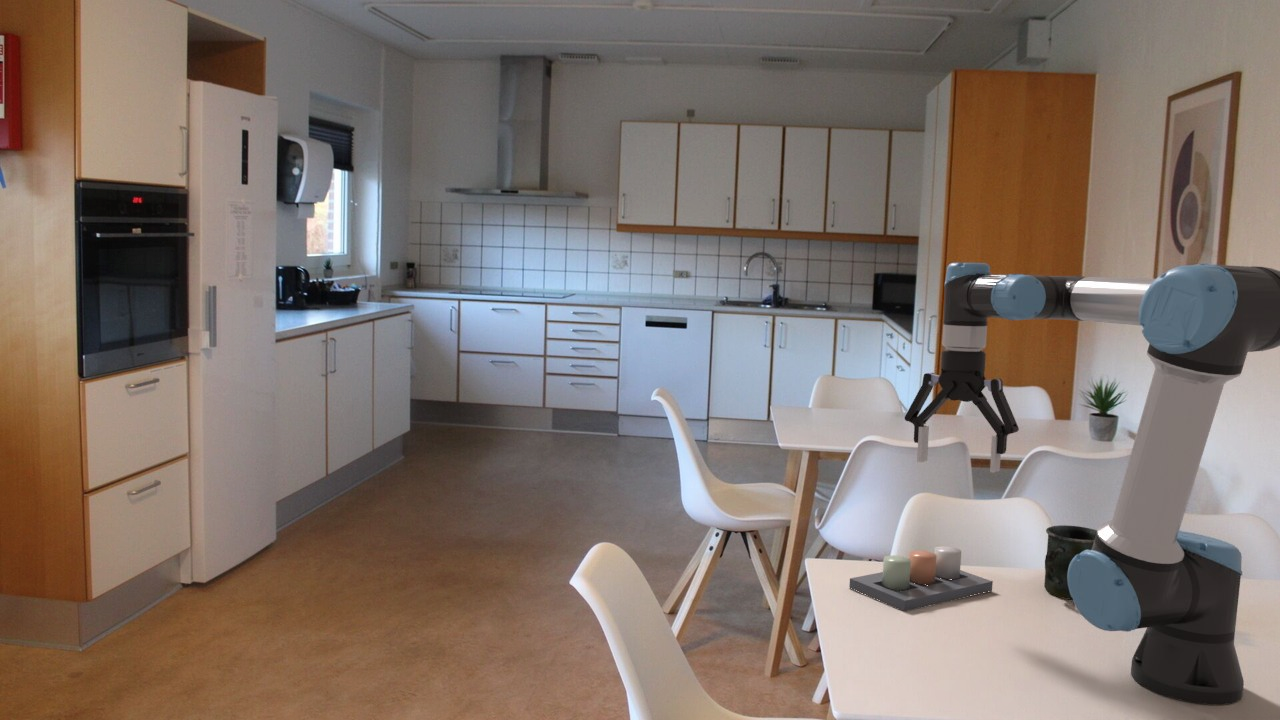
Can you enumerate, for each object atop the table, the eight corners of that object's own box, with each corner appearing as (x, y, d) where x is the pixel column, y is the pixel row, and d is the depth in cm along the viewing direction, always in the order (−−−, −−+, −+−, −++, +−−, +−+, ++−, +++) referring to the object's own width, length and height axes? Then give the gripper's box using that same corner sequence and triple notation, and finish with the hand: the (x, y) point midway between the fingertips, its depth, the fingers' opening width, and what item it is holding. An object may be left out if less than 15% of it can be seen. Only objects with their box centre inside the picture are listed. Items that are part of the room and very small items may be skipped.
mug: (1114, 596, 196) (1119, 535, 195) (1072, 610, 188) (1077, 546, 187) (1062, 580, 205) (1067, 522, 204) (1019, 593, 197) (1024, 532, 195)
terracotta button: (940, 581, 195) (942, 556, 195) (922, 585, 193) (924, 559, 192) (920, 574, 199) (922, 549, 199) (902, 578, 197) (904, 552, 196)
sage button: (915, 587, 191) (916, 561, 191) (896, 591, 189) (897, 564, 188) (895, 579, 196) (896, 554, 195) (876, 583, 193) (878, 557, 192)
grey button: (965, 576, 199) (966, 551, 198) (947, 580, 196) (949, 555, 196) (945, 569, 203) (946, 544, 203) (927, 572, 200) (929, 548, 200)
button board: (991, 591, 197) (992, 581, 197) (904, 611, 184) (904, 600, 184) (935, 571, 208) (936, 561, 208) (849, 588, 196) (849, 578, 195)
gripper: (1041, 353, 177) (1034, 473, 179) (907, 343, 193) (902, 454, 195) (1026, 355, 172) (1019, 479, 174) (889, 345, 188) (884, 459, 189)
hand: (957, 466), depth 184 cm, fingers open, 13 cm apart
